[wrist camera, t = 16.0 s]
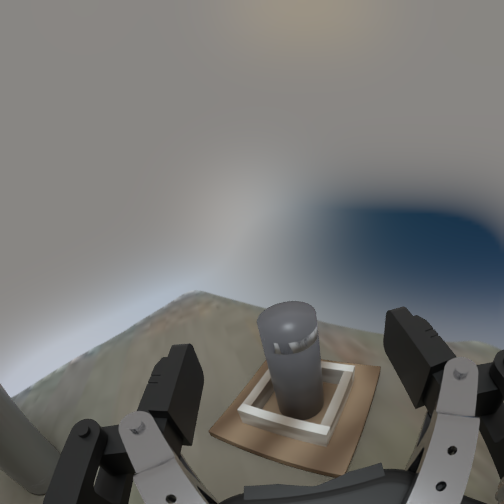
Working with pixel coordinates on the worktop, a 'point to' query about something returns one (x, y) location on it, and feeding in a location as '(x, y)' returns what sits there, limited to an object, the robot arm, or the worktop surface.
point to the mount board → (307, 431)
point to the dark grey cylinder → (293, 357)
